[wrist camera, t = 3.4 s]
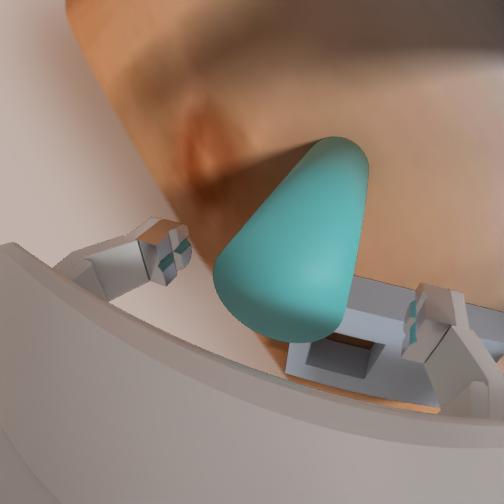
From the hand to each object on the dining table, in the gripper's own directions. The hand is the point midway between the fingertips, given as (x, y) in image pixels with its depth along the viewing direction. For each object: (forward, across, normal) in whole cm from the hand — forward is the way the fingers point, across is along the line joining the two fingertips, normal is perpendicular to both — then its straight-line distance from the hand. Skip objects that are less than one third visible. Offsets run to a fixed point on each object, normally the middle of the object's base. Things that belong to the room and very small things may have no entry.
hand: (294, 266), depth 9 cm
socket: (+8, -7, +11) cm, 15 cm away
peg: (+8, 0, -1) cm, 8 cm away
